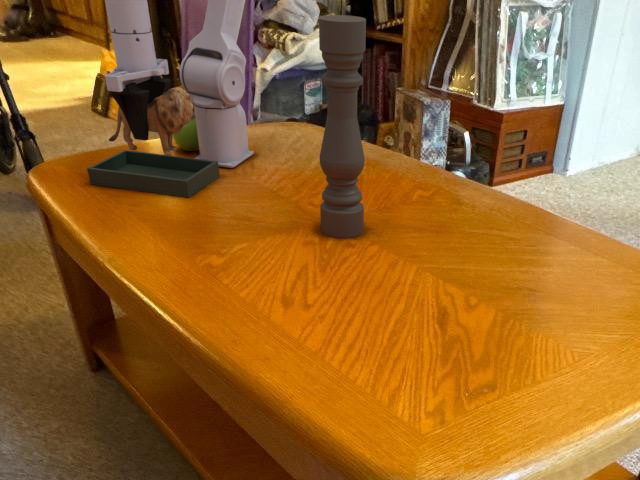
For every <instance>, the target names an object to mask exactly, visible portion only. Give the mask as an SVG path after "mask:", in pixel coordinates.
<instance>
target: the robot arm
mask: <svg viewBox="0 0 640 480" xmlns="http://www.w3.org/2000/svg"><path fill="white" fill-rule="evenodd" d="M104 4H105V10H106V14H107V20H108V25H109V31H110V36H111V40H112V41H111V42H112V46H113V52H114V57H115V63H116V66H115V68H113V70H111V71H110V72H109V73H107V74H105V75H104V79H105V83H106V90H107V91H108V92H109V94H110V96H111V97H112V98H113V99H114V101H115V102H116V104H117V105H118V108H119V107H120V108H121V110H122V112H123V114H124V116H125V118H126V120H127V122H128V125H129V127H130V129H131V135H132V136H133V138H134V140H137V141H138V140H139V141H148V140H149V137H150V136H149V135H150V133H149V132H151V131H148V120H147V105H148V104H150V103H152V101H153V100H154V99H155V98H156V97H159V96H161V95H163V93H165V92H167V91H168V90H170V89H171V88H172V84H171V83H172V82H171V79H170V78H167V77H166V78H164V77H163V78H161V76H167V75H169V74H170V70H169V62H168V59H166V58H165V59H164V58H157V55H156V50H155V43H154V36H153V32H152V24H151V23H152V22H151V18H150V17H151V16H150V11H149V3H148V0H104ZM245 4H246V0H207V5H206V10H205V17H204V22H203V27H202V30H200V32H199V33H197V34H196V35H195V36H194V37H193V38H192V39H191V40H190V41H189V43H188V48H187V50H186V51H187V52H186V53H185V56H184V57H183V59H182V61H181V63H180V66H179V80H180V84H181V85H182V87H183V88H184V90H185V91H186V93H188V94H189V95H190V101H191V102H193V103H194V111H195V118H194V119H195V120H196V127H197V135H198V143H199V149H198V150H199V155H197V156H195V157H194V158H195V159H203V160H211V161H218V167H221V168H229V169H233V168H234V169H235V168H236V167H237V166H238V165H239V164H241V163H242V162H244V161H246V160H247V159H248V158H250V157H251V156H253V155H254V154H255V153H254V151H253V150H250V148H249V137H248V136H249V135H248V125H247V114H246V112H245V109H244V108H243V106H242V105H241V100H242V99H243V96H244V94H245V91H246V73H245V71H246V66H247V58H246V56H245V54H244V53H243V52H242V50H241V48H240V47H239V45H238V44H237V43H238V37H239V33H240V29H241V24H242V18H243V13H244V8H245Z"/></svg>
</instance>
